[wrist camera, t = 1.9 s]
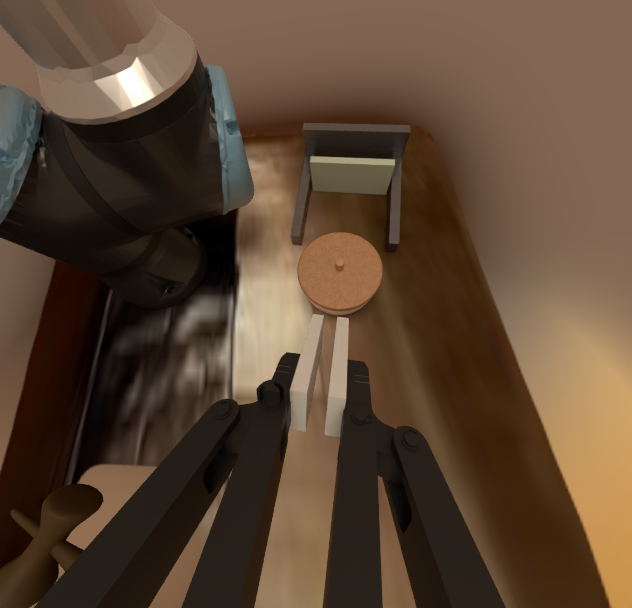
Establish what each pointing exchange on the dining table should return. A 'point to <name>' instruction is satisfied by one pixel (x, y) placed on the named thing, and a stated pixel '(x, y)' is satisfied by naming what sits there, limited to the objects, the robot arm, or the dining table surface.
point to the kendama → (47, 545)
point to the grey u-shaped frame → (353, 145)
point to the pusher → (351, 174)
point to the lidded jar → (339, 273)
